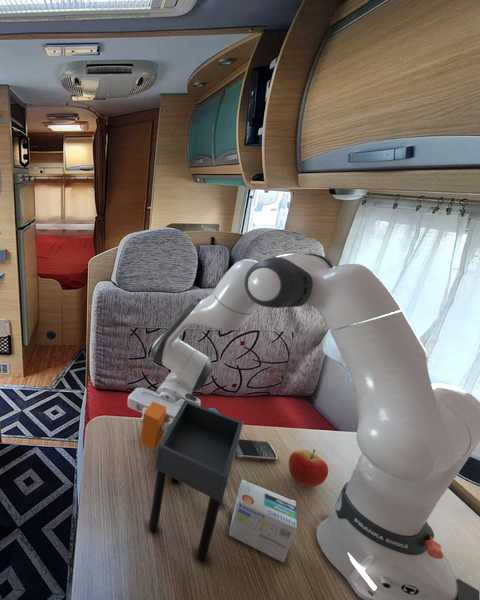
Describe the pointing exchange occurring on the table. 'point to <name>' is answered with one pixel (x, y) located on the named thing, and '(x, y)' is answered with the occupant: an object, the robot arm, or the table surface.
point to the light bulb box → (264, 520)
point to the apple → (307, 468)
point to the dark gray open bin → (200, 449)
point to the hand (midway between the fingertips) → (152, 425)
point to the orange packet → (153, 425)
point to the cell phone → (255, 450)
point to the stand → (208, 523)
